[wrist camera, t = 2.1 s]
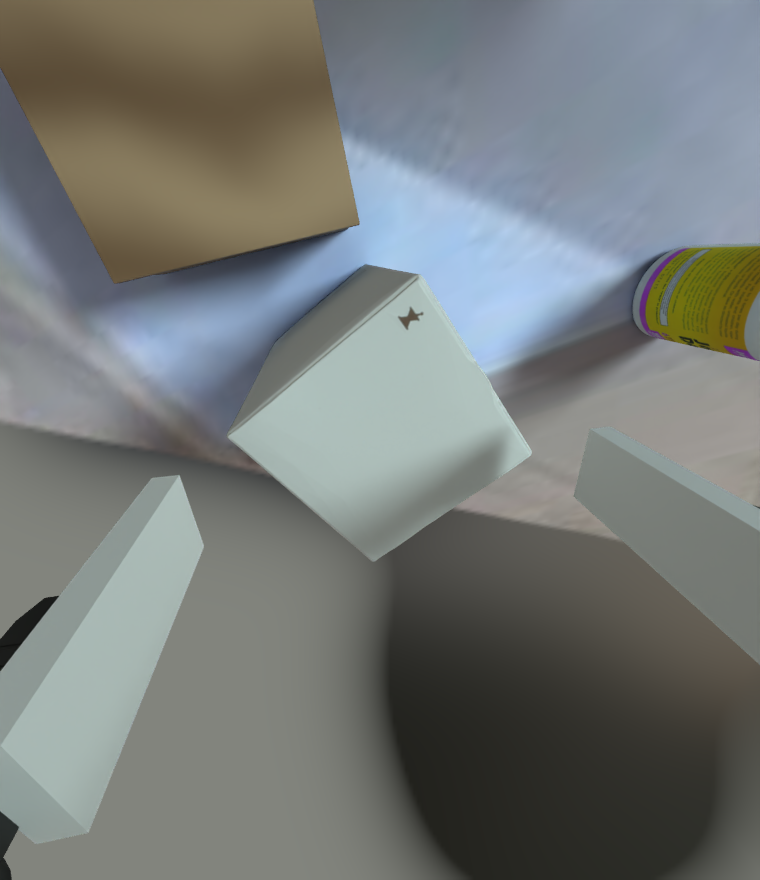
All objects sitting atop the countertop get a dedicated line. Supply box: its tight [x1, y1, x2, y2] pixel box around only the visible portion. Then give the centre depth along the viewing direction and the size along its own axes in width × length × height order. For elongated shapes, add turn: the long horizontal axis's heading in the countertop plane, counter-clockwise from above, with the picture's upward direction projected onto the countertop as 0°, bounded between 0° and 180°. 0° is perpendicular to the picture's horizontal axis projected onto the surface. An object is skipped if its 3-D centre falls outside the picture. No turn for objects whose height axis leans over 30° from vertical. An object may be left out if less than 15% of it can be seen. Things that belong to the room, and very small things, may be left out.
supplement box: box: [227, 264, 531, 562], centre depth 20 cm, size 9×9×15 cm
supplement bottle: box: [633, 243, 760, 361], centre depth 23 cm, size 7×7×13 cm
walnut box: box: [0, 0, 360, 284], centre depth 17 cm, size 12×12×6 cm
